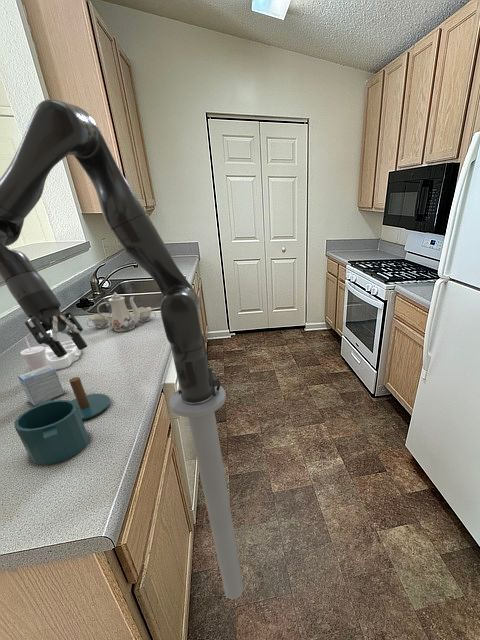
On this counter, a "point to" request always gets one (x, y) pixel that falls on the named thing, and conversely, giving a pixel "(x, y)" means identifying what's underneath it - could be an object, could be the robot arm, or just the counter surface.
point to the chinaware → (120, 315)
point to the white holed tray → (67, 359)
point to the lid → (88, 400)
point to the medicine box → (41, 384)
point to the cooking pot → (52, 431)
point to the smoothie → (34, 356)
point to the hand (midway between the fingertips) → (74, 352)
